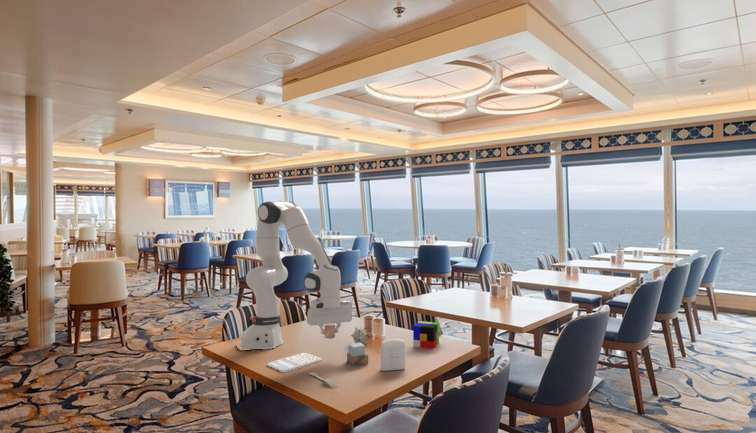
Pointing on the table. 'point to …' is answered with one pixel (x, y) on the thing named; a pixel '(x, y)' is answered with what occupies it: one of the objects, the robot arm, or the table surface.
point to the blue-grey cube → (356, 349)
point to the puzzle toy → (425, 334)
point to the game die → (360, 336)
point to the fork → (323, 379)
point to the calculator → (294, 362)
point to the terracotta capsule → (330, 331)
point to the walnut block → (357, 359)
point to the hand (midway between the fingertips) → (329, 333)
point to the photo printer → (392, 354)
